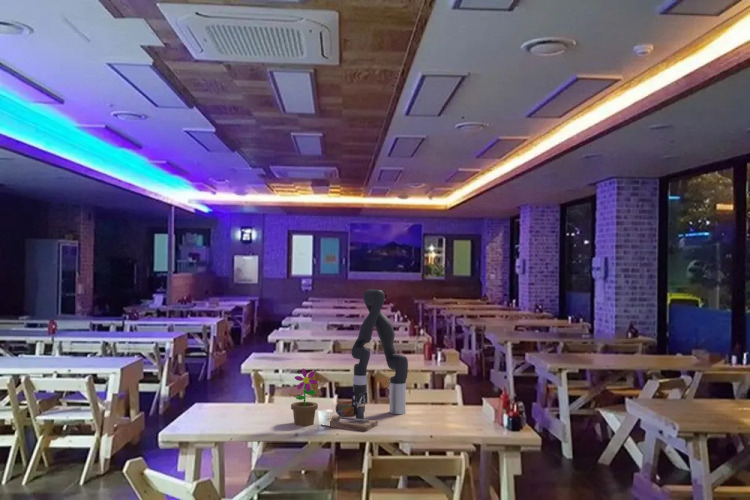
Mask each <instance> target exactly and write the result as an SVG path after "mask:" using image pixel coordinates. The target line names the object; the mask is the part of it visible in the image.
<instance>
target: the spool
mask: <svg viewBox="0 0 750 500" xmlns="http://www.w3.org/2000/svg"><path fill="white" fill-rule="evenodd" d="M364 406H365V407H366V404H362V403H360V404H359V406H358V415H355V418H356V419H364V420H365V418H364V417H365V412H364ZM357 422H359V423H361V421H357Z"/></svg>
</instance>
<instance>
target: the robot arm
mask: <svg viewBox="0 0 750 500" xmlns="http://www.w3.org/2000/svg"><path fill="white" fill-rule="evenodd" d="M385 301H386V296H385V292H384V291H383V290H381V289H366V290H365V291H364V293H363V302H364V305H365V306H366V308H367V310H368V315H367V316H366V318H365V319H364V320H363V322H362V323H361V325H360V328H359V332H358V336H357V339H355V342H354V344H353V345H352V349H351V357H352V358H353V359H356V360H359V361H358V363H356V364H354V365H353V377H352V378H353V379H352V392H353V393H354V395H351V400H352V407H354V416H356V415H358V406H359V404H360V403H362V404H365V406H364V413H365V411H366V404H367V403H368V388H367V387H368V378H367V377H368V376H367V373H368V372H367V370H368V365H369V361H370V358H371V352H370V349H369V348H368V347H366V346H365V344H370V342H371V340H372V336H373V333H374V329H375V330H376V333H377V336H378V338H379V341H380V343H381V347H382V349H383V350H382V351H383V353H384V357H385V362H386V364H387V367H388V368H389V369H390V370H391V371H392V370H393V371H394V376H391V377H390V378H389V413H390V414H391V415H403V414H406V413H407V411H406V409H407V408H406V407H407V406H406V405H407V404H406V401H407V400H406V399H407V398H406V396H407V395H406V394H407V378H408V374H409V373H408V369H409V360H408V357H407V356H406V355H404V354H398V353H397V352H396V350H395V346H394V342H395V335H396V334H395V331H394V327H393V325H392V323H391V321H390V319H389V318H388V317H387V316H386V315H385V314H384V312H382V309H383V306H384V304H385ZM353 403H354V405H353Z"/></svg>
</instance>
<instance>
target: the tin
mask: <svg viewBox="0 0 750 500" xmlns="http://www.w3.org/2000/svg"><path fill="white" fill-rule="evenodd" d="M353 405H354V403H353ZM335 412H336V414H337V416H340V417H353V416H355V415H354V407H352V399H351V400H341V401H339V402H337V403H336V405H335Z"/></svg>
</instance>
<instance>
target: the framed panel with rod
mask: <svg viewBox="0 0 750 500" xmlns="http://www.w3.org/2000/svg"><path fill="white" fill-rule="evenodd" d="M341 420H346V421H354V422H356V421H361V422H362V424H361V422H360V423H353V422H346V421H341ZM378 422H379V421H378V420H377V419H376V420H375V419H371V420H370V419H365V418H364V419H356V417H349V416H343V417H342V416H340V415H335V414H334V415H332V418H331V421H330V426H331V428H337V429H345V430H351V431H352V430H353V431H360V432H368V431H370V430H372V429H374V428H375V427H377V426H378V425H379V423H378Z"/></svg>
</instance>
